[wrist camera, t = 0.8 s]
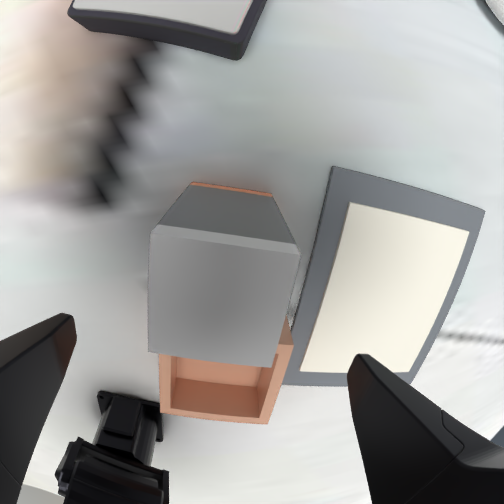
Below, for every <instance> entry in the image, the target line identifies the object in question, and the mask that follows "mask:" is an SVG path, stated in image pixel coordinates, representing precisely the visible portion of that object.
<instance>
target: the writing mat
mask: <svg viewBox="0 0 504 504" xmlns="http://www.w3.org/2000/svg"><path fill="white" fill-rule="evenodd" d="M484 214H485V211H484V210H482V209H479V208H477V207H474V206H471V205H468V204H465V203H462V202H459V201H456V200H453V199H450V198H447V197H444V196H441V195H438V194H435V193H432V192H429V191H425V190H422V189H419V188H415V187H412V186H408V185H405V184H402V183H398V182H394V181H391V180H387V179H383V178H380V177H376V176H372V175H368V174H364V173H360V172H356V171H352V170H348V169H344V168H339V167H335V166H332V170H331V174H330V179H329V183H328V188H327V192H326V197H325V201H324V206H323V210H322V214H321V218H320V223H319V227H318V231H317V235H316V239H315V243H314V247H313V251H312V255H311V259H310V263H309V267H308V271H307V274H306V278H305V282H304V286H303V289H302V293H301V297H300V300H299V304H298V308H297V311H296V315H295V318H294V322H293V325H292V329H291V335H292V340H293V344H294V347H293V350H292V353H291V356H290V359H289V363H288V366H287V369H286V372H285V375H284V378H283V381H282V384H281V385H298V386H348V384H347V373H348V370H349V368H350V366H351V363H352V361H353V359H354V357H355V355H356V354H359V353H360V354H369V355H371V356H372V357H373V358H375V359H376V360H377V361H379V362H380V363H381V364H383V365H384V366H385V367H387V368H388V369H389V370H390V371H392V372H393V373H394V374H396V375H397V376H398V377H400V378H401V379H402V380H404V381H405V382H406V383H408V384H411V383H412V381H413V379H414V378H415V376H416V374H417V372H418V371H419V369H420V367H421V365H422V364H423V362H424V360H425V358H426V356H427V354H428V353H429V351H430V349H431V347H432V345H433V343H434V341H435V339H436V337H437V335H438V333H439V331H440V329H441V327H442V325H443V323H444V321H445V319H446V316H447V314H448V312H449V310H450V308H451V305H452V303H453V301H454V298H455V296H456V294H457V291H458V289H459V287H460V284H461V282H462V279H463V277H464V274H465V271H466V269H467V266H468V263H469V261H470V258H471V255H472V252H473V249H474V246H475V243H476V240H477V237H478V234H479V231H480V228H481V225H482V221H483V218H484Z"/></svg>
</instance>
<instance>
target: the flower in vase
mask: <svg viewBox="0 0 504 504" xmlns="http://www.w3.org/2000/svg"><path fill="white" fill-rule="evenodd" d="M485 1H486V3H487V4H488V6H489V7H490V9H491V10H492V12H493V13H494V14H495V16H496V17H497V18H498V20H499V21H500V22H501V23H502V24H503V25H504V0H485Z"/></svg>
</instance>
